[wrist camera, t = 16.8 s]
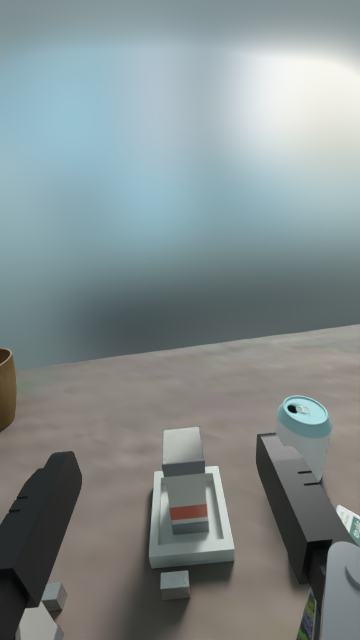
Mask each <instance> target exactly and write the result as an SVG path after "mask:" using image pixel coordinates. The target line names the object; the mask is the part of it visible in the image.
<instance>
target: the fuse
mask: <svg viewBox="0 0 360 640" xmlns="http://www.w3.org/2000/svg"><path fill="white" fill-rule="evenodd" d="M19 627H20V635H21V640H62V639H63V635H64V633H63V631H62V629H61V628H60V626H59V625H56V624H55V622H54V621H53V619H52V618H51V616H50V614H49V613H48V611H47V610H46V608H45V606H44V605H43V603H42V602H40V605H39V607H37V608H26V609H25V611H24V613H23V616H22V618H21V621H20V624H19Z"/></svg>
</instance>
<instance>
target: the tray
mask: <svg viewBox="0 0 360 640" xmlns="http://www.w3.org/2000/svg"><path fill="white" fill-rule="evenodd" d="M204 474H205V489H206V501H207V511H208V521H209V532H200V533H190V534H180V535H173V531H172V520H171V516H170V509H169V500H168V494H167V488H166V482H165V477H164V476H163V471H159V472H155V475H154V489H153V503H152V517H151V531H150V545H149V561H150V565H151V569H154V568H164V567H175V566H185V565H196V564H206V563H217V562H227V561H234V544H233V539H232V534H231V529H230V524H229V519H228V514H227V509H226V504H225V499H224V494H223V489H222V484H221V479H220V474H219V469H218V466H212V467H205V473H204Z"/></svg>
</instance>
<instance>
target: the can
mask: <svg viewBox="0 0 360 640" xmlns="http://www.w3.org/2000/svg"><path fill="white" fill-rule="evenodd" d="M331 430H332V424H331V421H330V419H329V417H328V412H327V410H326V409H325V408H324V406H323V405H321V404H320V403H319V402H317V401H315V400H313V399H311V398H308V397H304V396H291V397H288V398H286V399H285V400H284V402H283V404H281V405H280V407H279V408H278V412H277V423H276V434H277V435H278V437H279V439H280V440H281V442H282V444H283V446H293V447H294V448H295V449H296V450H297V451H298V452H299V453H300V454H301V455H302V456H303V457H304V458H305V460H306V462H307V463H308V465H309V467H310V468H311V470H312V473H314V475H315V477H316V479H317V480H318V482H319V481H320V480H321V478H322V474H323V469H324V464H325V459H326V454H327V449H328V445H329V440H330V435H331Z"/></svg>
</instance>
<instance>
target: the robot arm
mask: <svg viewBox="0 0 360 640" xmlns="http://www.w3.org/2000/svg"><path fill="white" fill-rule="evenodd" d="M256 464H257V469H258V473H259V476H260V479H261V482H262V484H263V487H264V490H265V493H266V495H267V498H268V501H269V504H270V506H271V509H272V512H273V514H274V517H275V520H276V523H277V525H278V528H279V531H280V534H281V536H282V539H283V542H284V545H285V547H286V550H287V553H288V556H289V558H290V561H291V564H292V566H293V569H294V572H295V575H296V577H297V580H298V583H299V584H306V583H309V584H310V587H311V589H312V592H313V594H314V597H315V599H316V601H315V611H314V621H313V632H312V640H360V546H359V545H358V544H357V543H356V542H355V541H354V539H353V538H352V537H351V535H350V534H349V532H348V530H347V529H346V527H345V525H344V524H343V522H342V520H341V519H340V517H339V515H338V514H337V512H336V510H335V509H334V507H333V505H332V504H331V502H330V500H329V499H328V497H327V495H326V494H325V492H324V490H323V489H322V487H321V485H319V482H318V480H317V479H316V477H315V475H314V473H312V470H311V468H310V467H309V465H308V463H307V462H306V460H305V458H304V457H303V456H302V455H301V454H300V453H299V452H298V451H297V450H296V449H295V448H294V447H293V446H283V444H282V442H281V440H280V439H279V437H278V435H277V434H276V433H267V434H258V435H257V447H256ZM81 485H82V475H81V472H80V469H79V466H78V463H77V460H76V457H75V455H74V452H72V451H68V452H57V453H53V454H52V455H51V456H50V458H49V459H48V461H47V463H46V465H45V467H44V468H41V469H38V470H37V471H36V472H35V473H34V474H33V475H32V476H31V477H30V478H29V479H28V480H27V481H26V483H25V484H24V486H23V488H22V489H21V491H20V493H19V494H18V496H17V499H16V500H15V501H14V503H13V504H12V506H11V508H10V510H9V513H8V514H7V515H6V516H5V518H4V520H3V521H2V523H1V525H0V640H21V635H20V627H19V624H20V621H21V618H22V616H23V613H24V611H25V609H26V608H37V607H39V605H40V602H41V599H42V596H43V593H44V591H45V588H46V585H47V582H48V579H49V577H50V574H51V571H52V568H53V565H54V563H55V560H56V557H57V554H58V552H59V549H60V546H61V543H62V540H63V538H64V535H65V532H66V529H67V526H68V524H69V521H70V518H71V515H72V513H73V510H74V507H75V504H76V501H77V499H78V496H79V493H80V490H81Z"/></svg>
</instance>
